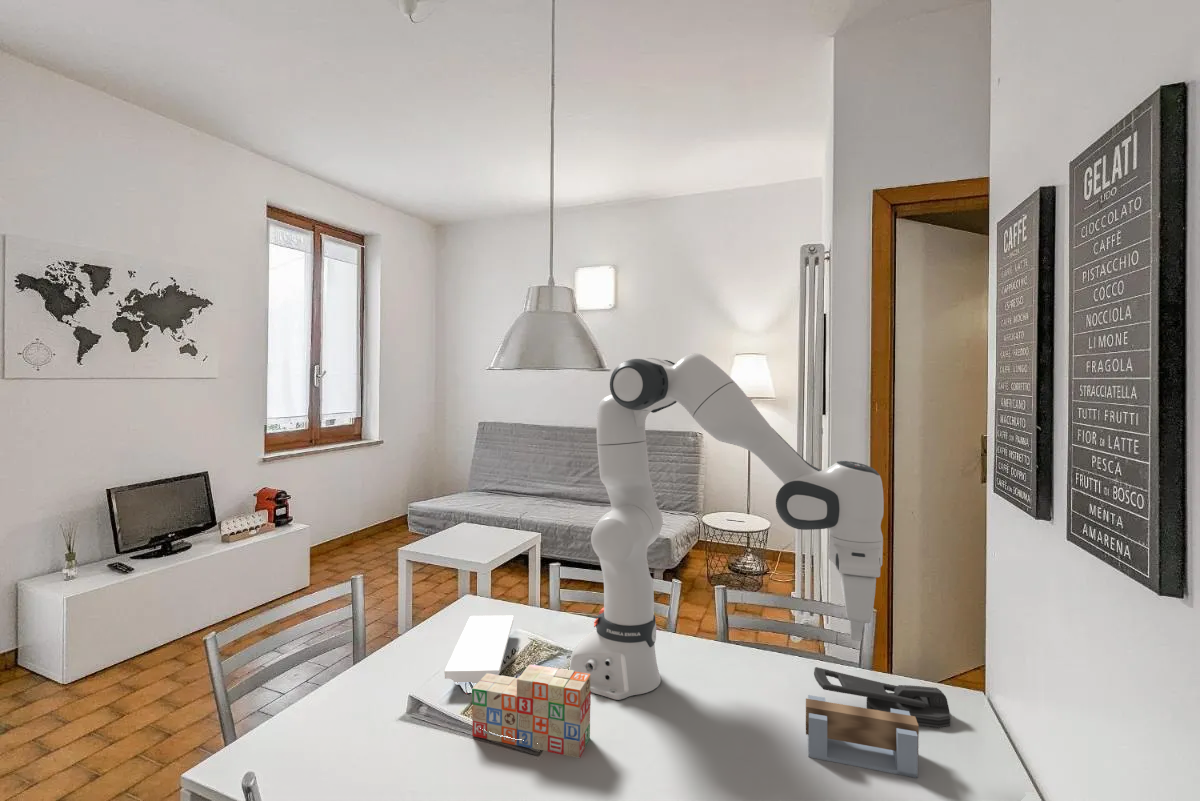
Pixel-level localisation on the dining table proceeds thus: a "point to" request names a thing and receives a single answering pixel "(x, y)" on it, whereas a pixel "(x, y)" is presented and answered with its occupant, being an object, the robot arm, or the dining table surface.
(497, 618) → the shelf
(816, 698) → the grey cradle stand
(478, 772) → the dining table surface
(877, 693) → the zipper pull
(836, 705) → the rail
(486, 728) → the stack of blocks
